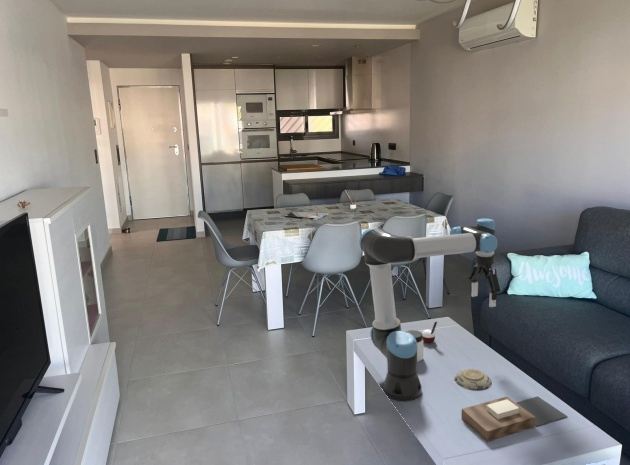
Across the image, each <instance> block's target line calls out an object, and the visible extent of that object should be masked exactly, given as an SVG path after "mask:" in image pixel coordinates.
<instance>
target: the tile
mask: <svg viewBox="0 0 630 465" xmlns="http://www.w3.org/2000/svg"><path fill="white" fill-rule="evenodd" d="M486 410H487V411H488V412H489V413H491V414H492V415H493V416H494V417H496V418H497V419H501V418H504V417H507V416H511V415H514V414H518V413H519V408H518V407H517V406H516V405H514V404H513V403H512V402H510V401H509V400H508V399H506V400H503V401H499V402H495V403H492V404H488V405H486Z"/></svg>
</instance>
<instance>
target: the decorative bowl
mask: <svg viewBox="0 0 630 465" xmlns="http://www.w3.org/2000/svg"><path fill="white" fill-rule="evenodd" d="M453 380H454V381H456V382H455V383H456V385H458V386H459V387H461V388H462V389H465V390H470V391H484V390H488V389H489V388H491V387H492V385H493V382H492V379H491V378H490V377H489V376H488V375H487V373H485V372H482V371H480V370H478V369H474V368H467V369H464V370H462V371H459V372H458V373H456V375H455V376H454V378H453Z"/></svg>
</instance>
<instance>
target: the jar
mask: <svg viewBox="0 0 630 465" xmlns="http://www.w3.org/2000/svg"><path fill="white" fill-rule="evenodd" d="M405 332H406V333H407V332H408V333H410V334H412V335H413V336H414V337H415V339H416V342H417V363H419V362H420V361H422V360H424V341H423V339H422V332H421V331H419V330H413V329H411V330H407V331H405Z"/></svg>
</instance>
